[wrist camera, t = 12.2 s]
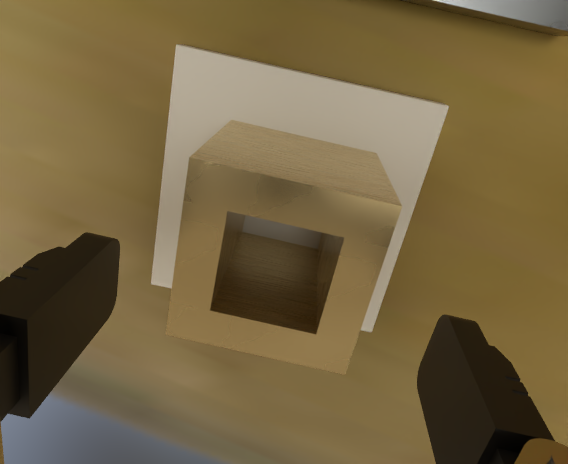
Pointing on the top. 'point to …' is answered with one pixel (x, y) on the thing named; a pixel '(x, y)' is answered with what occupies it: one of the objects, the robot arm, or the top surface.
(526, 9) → the gray base plate
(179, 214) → the pad
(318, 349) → the collar
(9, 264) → the top surface
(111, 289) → the robot arm
